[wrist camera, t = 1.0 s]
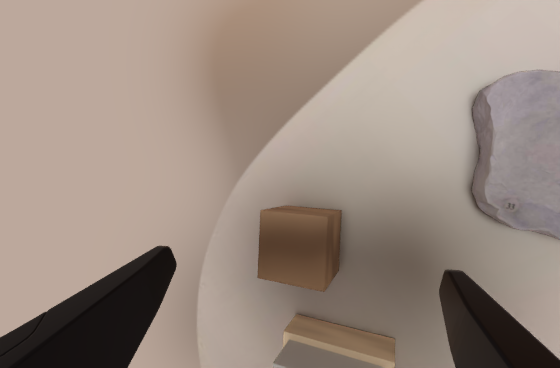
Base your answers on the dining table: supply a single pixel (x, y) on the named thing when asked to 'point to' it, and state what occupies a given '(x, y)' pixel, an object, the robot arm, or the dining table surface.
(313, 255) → the walnut cube
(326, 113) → the dining table surface
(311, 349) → the grey block
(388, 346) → the beech base block
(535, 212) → the stone block
